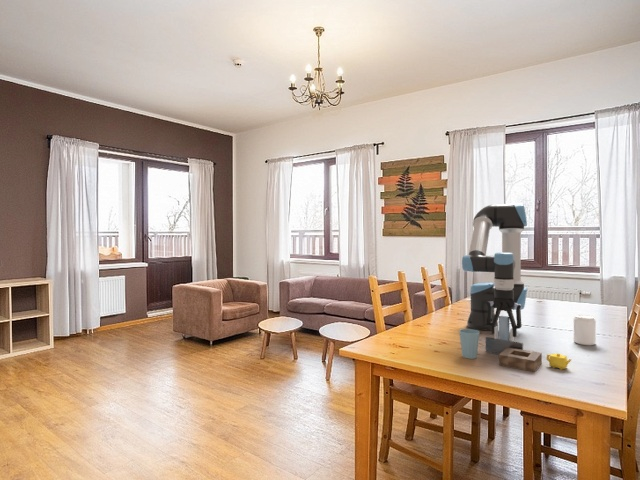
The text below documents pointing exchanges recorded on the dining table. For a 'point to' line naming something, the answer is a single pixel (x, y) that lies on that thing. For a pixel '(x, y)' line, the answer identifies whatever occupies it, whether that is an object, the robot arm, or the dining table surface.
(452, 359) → the dining table surface
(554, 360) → the teapot
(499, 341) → the rail
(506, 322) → the peg
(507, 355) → the socket block
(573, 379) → the dining table surface
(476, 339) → the cup
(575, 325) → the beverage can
